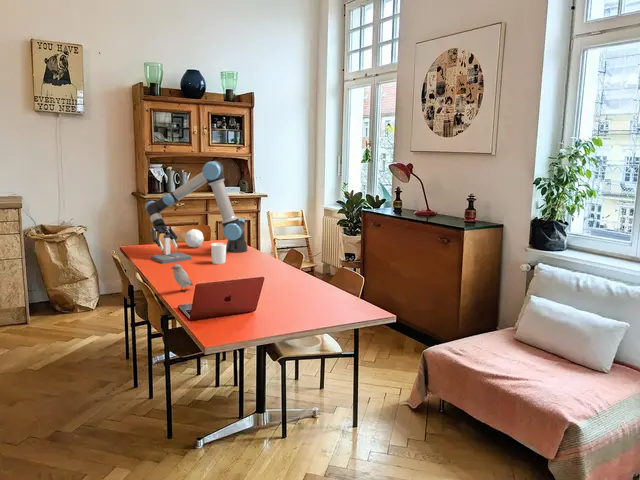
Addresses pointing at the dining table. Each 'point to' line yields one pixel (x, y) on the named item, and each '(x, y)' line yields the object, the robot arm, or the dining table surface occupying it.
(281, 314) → the dining table surface
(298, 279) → the dining table surface
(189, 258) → the board
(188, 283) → the bird
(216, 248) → the candle holder
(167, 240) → the fader knob
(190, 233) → the geodesic sphere
